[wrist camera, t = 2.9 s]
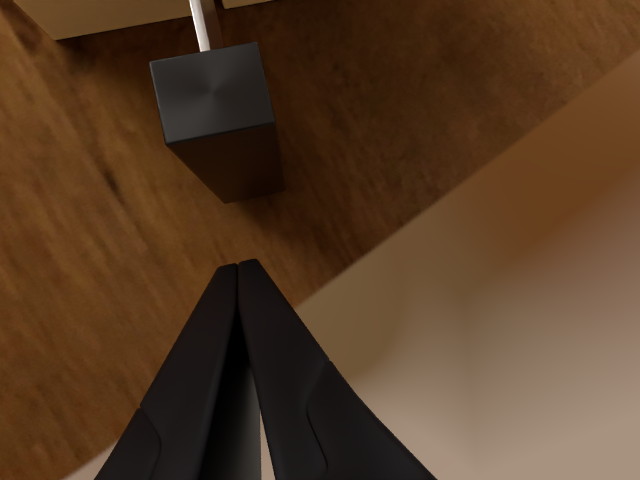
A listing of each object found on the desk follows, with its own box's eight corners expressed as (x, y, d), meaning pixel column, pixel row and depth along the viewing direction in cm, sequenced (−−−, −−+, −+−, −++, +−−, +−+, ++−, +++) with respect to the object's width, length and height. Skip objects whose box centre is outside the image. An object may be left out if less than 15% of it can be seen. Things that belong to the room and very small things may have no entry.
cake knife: (285, 190, 19) (276, 122, 11) (223, 204, 19) (164, 145, 11) (241, -6, 20) (199, -212, 12) (181, 5, 20) (94, -197, 11)
